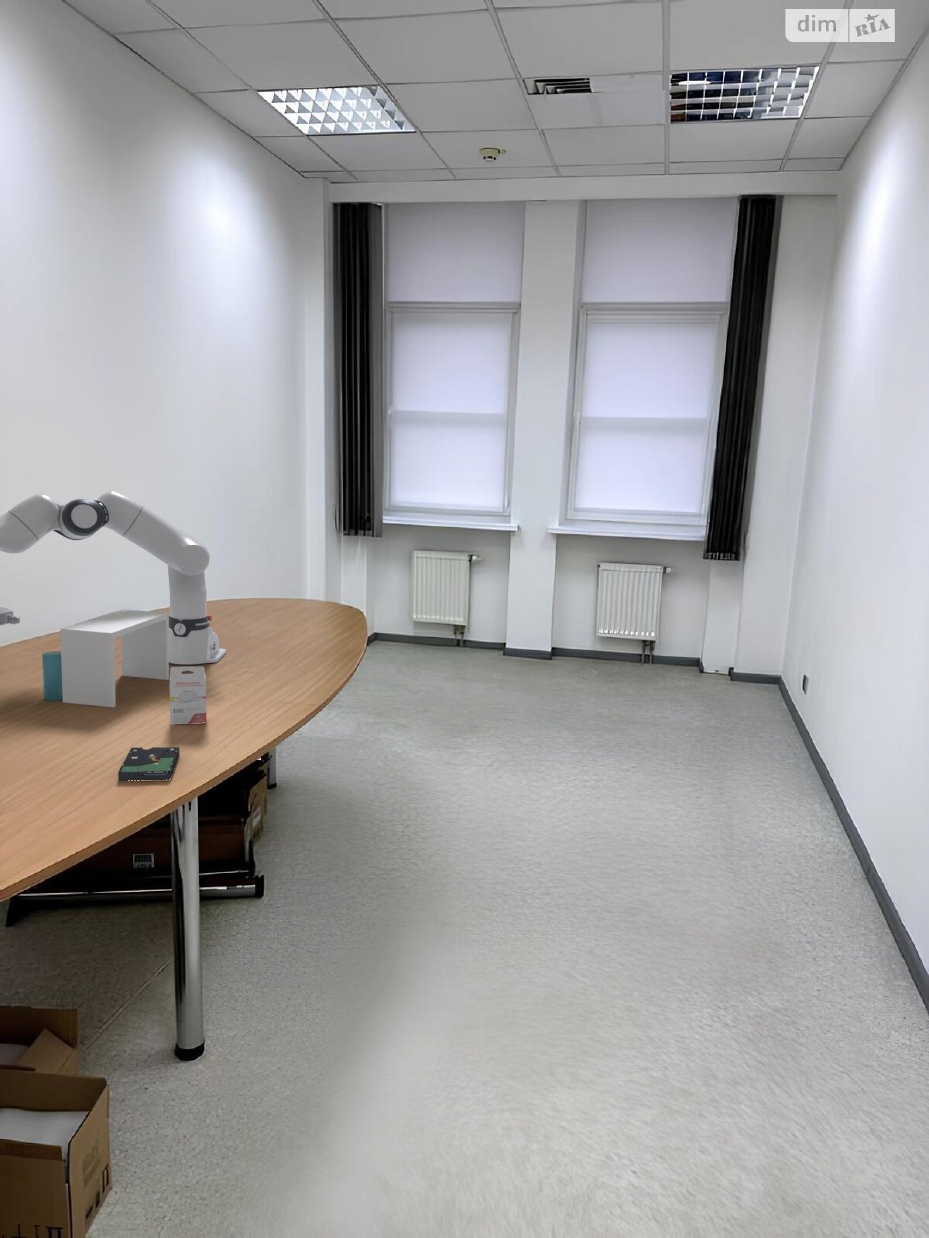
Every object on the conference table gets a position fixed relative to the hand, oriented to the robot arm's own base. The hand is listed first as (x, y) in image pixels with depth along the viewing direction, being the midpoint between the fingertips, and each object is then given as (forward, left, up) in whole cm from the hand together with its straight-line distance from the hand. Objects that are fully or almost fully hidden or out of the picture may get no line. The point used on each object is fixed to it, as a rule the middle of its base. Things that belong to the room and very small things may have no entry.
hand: (6, 623), depth 224 cm
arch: (-12, +24, -19) cm, 33 cm away
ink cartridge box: (+8, +54, -19) cm, 58 cm away
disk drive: (+39, +61, -20) cm, 75 cm away
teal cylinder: (0, +13, -19) cm, 23 cm away
